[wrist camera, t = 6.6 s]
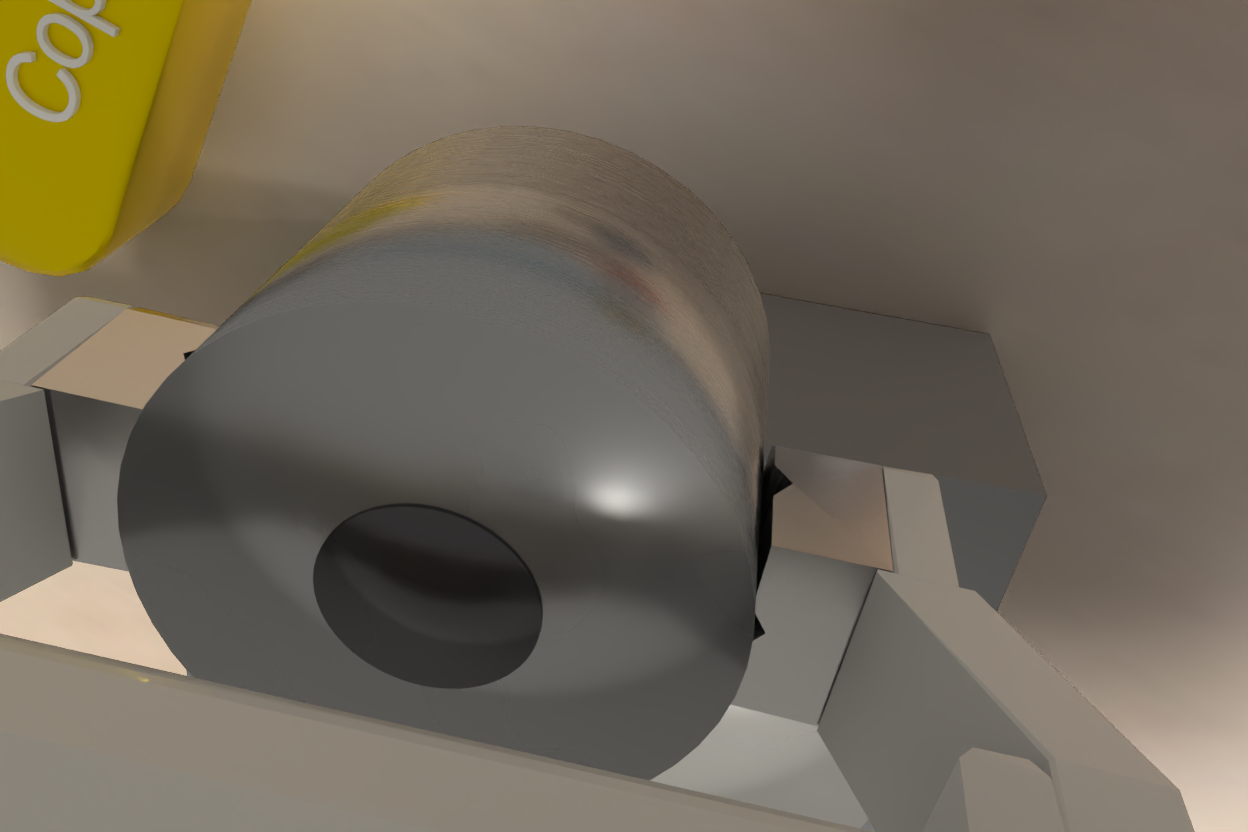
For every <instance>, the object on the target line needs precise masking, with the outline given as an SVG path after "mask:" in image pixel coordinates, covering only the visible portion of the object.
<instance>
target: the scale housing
mask: <svg viewBox="0 0 1248 832" xmlns="http://www.w3.org/2000/svg"><path fill="white" fill-rule="evenodd" d="M760 295H761V299H762V303H763V306H764V310H765V314H766V318H767V323H768V332H769V340H770V375H769V392H768V408H767V425H766V441H765V458H764V468H765V465H766V461H767V458H768V456H769V453H770V450H771V447H772V446H778V447H783V448H788V449H794V450H799V451H804V452H810V453H815V454H820V455H826V456H831V457H836V458H842V459H847V460H852V461H858V462H863V463H869V464H874V465H880V466H886V467H892V468H897V469H903V470H909V471H915V472H920V473H926V474H932V475H933V476H934V477H935V478H936V479H937V480H938V481H939V487H940V492H941V497H942V502H943V507H944V512H945V517H946V522H947V527H948V533H949V538H950V543H951V548H952V553H953V558H954V563H955V568H956V573H957V579H958V584H959V587H960V588H964V589H969V590H973V591H976V592H977V593H978V594H979V595H980V596H981V597H982V598H983V599H984V600H985V601H986V602H987V603H988V604H989V605H990V606H991V607H992V608H993V609H994V610H995V611H996V612H997V609H998V607H999V605H1000V602H1001V600H1002V598H1003V595H1004V593H1005V591H1006V588H1007V586H1008V584H1009V582H1010V579H1011V577H1012V575H1013V572H1014V570H1015V568H1016V565H1017V563H1018V561H1019V559H1020V556H1021V554H1022V552H1023V549H1024V547H1025V545H1026V542H1027V540H1028V538H1029V535H1030V533H1031V531H1032V529H1033V526H1034V524H1035V522H1036V519H1037V517H1038V515H1039V512H1040V510H1041V508H1042V506H1043V503H1044V501H1045V499H1046V496H1047V495H1046V493H1045V490H1044V487H1043V484H1042V481H1041V478H1040V476H1039V473H1038V470H1037V467H1036V464H1035V461H1034V459H1033V456H1032V453H1031V450H1030V447H1029V444H1028V442H1027V439H1026V436H1025V433H1024V430H1023V427H1022V425H1021V422H1020V419H1019V416H1018V413H1017V410H1016V408H1015V405H1014V402H1013V399H1012V396H1011V394H1010V391H1009V388H1008V385H1007V382H1006V379H1005V377H1004V374H1003V371H1002V368H1001V365H1000V362H999V360H998V357H997V354H996V351H995V348H994V345H993V343H992V340H991V337H990V334H984V333H979V332H973V331H968V330H962V329H957V328H951V327H945V326H940V325H934V324H929V323H923V322H918V321H912V320H906V319H901V318H895V317H890V316H884V315H879V314H873V313H867V312H862V311H856V310H851V309H845V308H840V307H834V306H828V305H823V304H817V303H812V302H806V301H800V300H795V299H789V298H784V297H778V296H773V295H767V294H761V293H760ZM187 676H189V677H192V676H191V674H190V673H189V672H188V671H187ZM861 829H865V830H869V831H874V832H876V831H875V829H874V828H873V826H872V824H871V822H870V821H869V819H868V820H867V821H866V823H865V824H864V825H863V827H862V828H861Z"/></svg>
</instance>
